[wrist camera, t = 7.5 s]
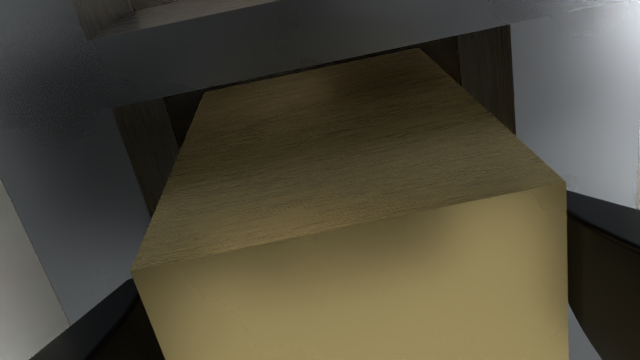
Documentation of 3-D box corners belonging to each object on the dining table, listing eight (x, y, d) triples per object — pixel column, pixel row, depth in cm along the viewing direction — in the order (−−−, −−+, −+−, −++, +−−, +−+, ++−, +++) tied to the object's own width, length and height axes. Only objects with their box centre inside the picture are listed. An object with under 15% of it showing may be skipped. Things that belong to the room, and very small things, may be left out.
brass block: (440, 233, 13) (570, 481, 8) (255, 271, 13) (239, 546, 8) (418, 47, 12) (566, 182, 6) (204, 91, 12) (130, 270, 6)
